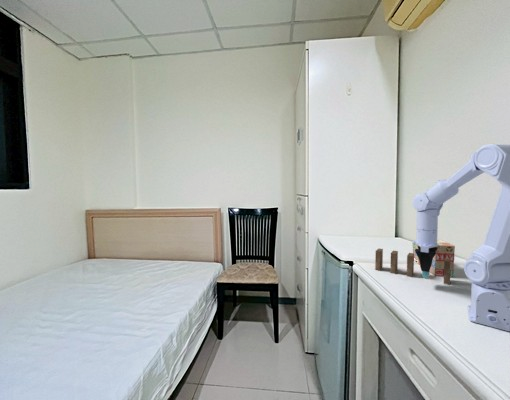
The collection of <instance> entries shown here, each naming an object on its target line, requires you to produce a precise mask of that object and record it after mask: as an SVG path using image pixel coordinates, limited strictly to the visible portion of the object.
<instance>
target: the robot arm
mask: <svg viewBox="0 0 510 400" xmlns="http://www.w3.org/2000/svg"><path fill="white" fill-rule="evenodd" d="M483 173H486V174H487V175H489V176H490V177H492V178H494V179H495V180H496V181H498V182H499V183H500V185H501V186H502V187H501V189H500V193H499V195H498V198H497V201H496V204H495V208H494V210H493V212H492V213H493V214H492V217H491V219H490V223H489V226H488V229H487V232H486V234H485V238H484V241H483V244H482V245H481V246H480V247H478V248H477V249H475V250H474V251H472V252H471V255H470V257H469V259H466V261H465V262H464V264H463V270H464V271H463V272H464V273H465V275H466V277H467V279H468V280H469V282H470V283H471V288H470V289H471V290H470V291H471V294H470V295H471V296H470V304H469V305H468V306H467V308H468V309H467V310H468V320H469V321H470V322H473V323H476V324H480V325H484V326H488V327H490V328H495V329H498V330H502V331H506V332H510V144H495V143H488V144H484V145H481V147H480V148H478V149H477V151H475V152H473V153H472V154H471V156H470V160H469V161H468V162H466V163H465V164H464V165H463V166H462V167H460V168H459V170H458V171H456V172H455V173H454V174H453V175H452V176H451V177H449V178H448V179H440V180H437V181H435V184H434V185H433V186H432V187H431V188H429V189H427V190H426V191H425V192H423V193H417V194H416V195H415V196H414V197H413V199H412V206H413V208H414V209H415V210H416V239H414V240H412V241H411V242H412V244H413V243H415V244H417V245H418V249H415V252H416V254H417V256H418V258H419V262H420V265H419V267H420V270H421V271H426V272H429V271H430V267H431V264H432V260H433V257H434V256H435V254H436V250H437V249H438V247H436V246H438V243H437V239H438V226H439V225H438V222H439V221H438V220H439V219H438V217H439V216H440V215H441V213H440V212H441V210H442V209H443V207H444V204H445V203H446V202H447V201H449V200H450V199H452V198H453V197H455V196H456V195H457V194H459V191H460V190H459V188H461V187H463V186H464V185H466V184H467V183H468V182H470V181H472V180H473V179H475V178H477V177H479V176H480V175H482V174H483ZM429 273H430V272H429Z"/></svg>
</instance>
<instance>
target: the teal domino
mask: <svg viewBox="0 0 510 400" xmlns="http://www.w3.org/2000/svg"><path fill="white" fill-rule="evenodd" d="M421 275H422V279H429V277H430V272H426V271H422V273H421Z"/></svg>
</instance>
